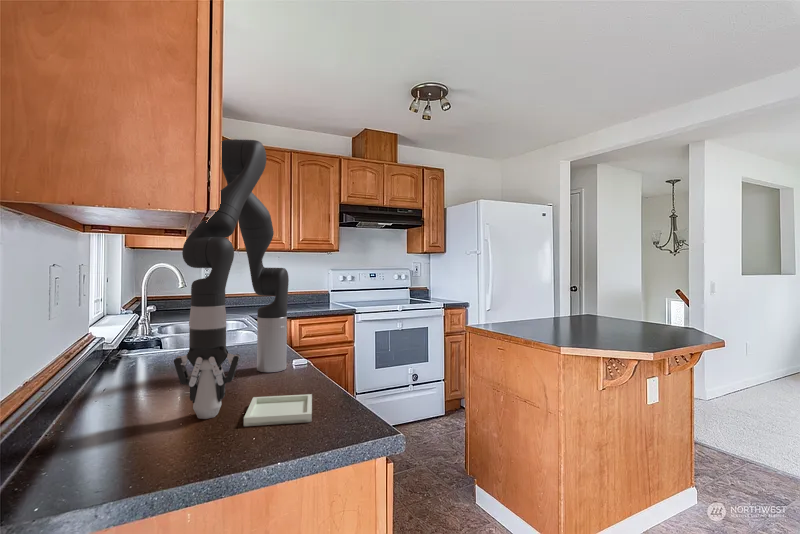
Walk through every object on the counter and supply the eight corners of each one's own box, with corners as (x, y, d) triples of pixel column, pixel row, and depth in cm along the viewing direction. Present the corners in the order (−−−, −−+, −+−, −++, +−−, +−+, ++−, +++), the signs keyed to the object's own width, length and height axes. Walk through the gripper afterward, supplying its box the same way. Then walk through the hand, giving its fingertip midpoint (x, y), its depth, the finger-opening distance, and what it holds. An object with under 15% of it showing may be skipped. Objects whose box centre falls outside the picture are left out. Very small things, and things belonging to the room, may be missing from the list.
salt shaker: (210, 421, 90) (210, 361, 90) (187, 419, 91) (187, 360, 91) (226, 412, 95) (227, 356, 95) (204, 410, 96) (205, 354, 96)
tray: (253, 404, 101) (253, 397, 101) (311, 401, 104) (311, 394, 104) (243, 426, 87) (243, 417, 87) (311, 421, 90) (311, 413, 90)
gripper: (244, 322, 98) (243, 394, 98) (179, 323, 95) (178, 398, 95) (238, 327, 91) (238, 405, 91) (167, 328, 88) (167, 409, 88)
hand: (207, 401), depth 93 cm, fingers open, 4 cm apart
